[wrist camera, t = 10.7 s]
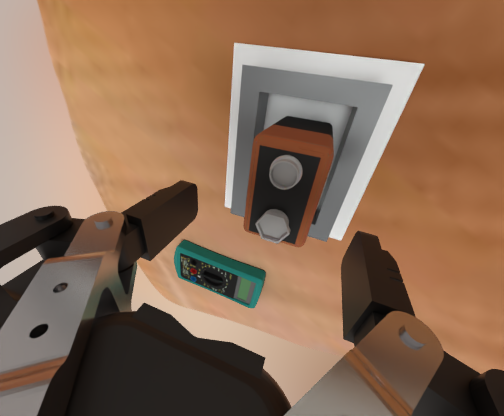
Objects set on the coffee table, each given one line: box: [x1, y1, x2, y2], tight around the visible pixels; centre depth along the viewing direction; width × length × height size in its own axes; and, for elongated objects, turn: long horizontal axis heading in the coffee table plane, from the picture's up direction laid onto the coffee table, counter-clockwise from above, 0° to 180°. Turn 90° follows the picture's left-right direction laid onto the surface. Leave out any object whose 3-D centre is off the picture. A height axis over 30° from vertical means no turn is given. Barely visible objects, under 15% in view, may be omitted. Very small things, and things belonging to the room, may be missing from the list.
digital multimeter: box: [174, 240, 266, 308], centre depth 33 cm, size 7×15×3 cm, turn 80°
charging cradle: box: [225, 43, 425, 242], centre depth 19 cm, size 16×14×4 cm
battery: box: [244, 116, 334, 247], centre depth 15 cm, size 4×7×10 cm, turn 173°
